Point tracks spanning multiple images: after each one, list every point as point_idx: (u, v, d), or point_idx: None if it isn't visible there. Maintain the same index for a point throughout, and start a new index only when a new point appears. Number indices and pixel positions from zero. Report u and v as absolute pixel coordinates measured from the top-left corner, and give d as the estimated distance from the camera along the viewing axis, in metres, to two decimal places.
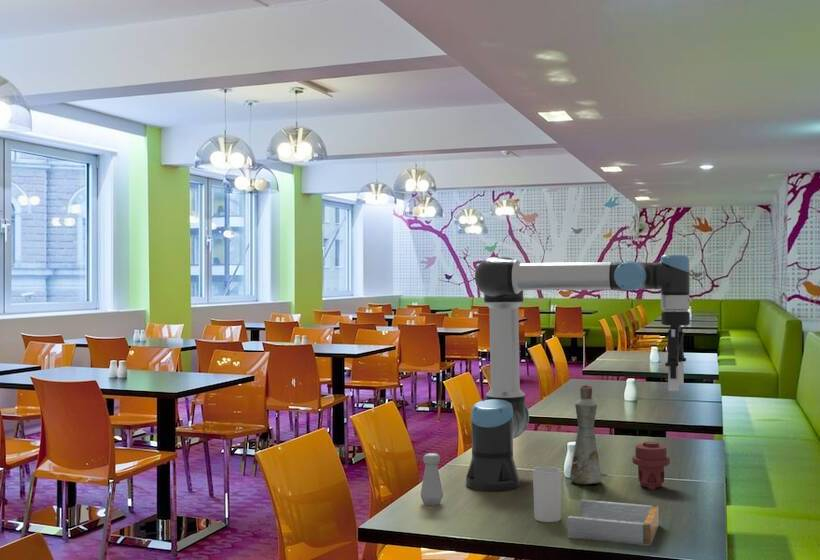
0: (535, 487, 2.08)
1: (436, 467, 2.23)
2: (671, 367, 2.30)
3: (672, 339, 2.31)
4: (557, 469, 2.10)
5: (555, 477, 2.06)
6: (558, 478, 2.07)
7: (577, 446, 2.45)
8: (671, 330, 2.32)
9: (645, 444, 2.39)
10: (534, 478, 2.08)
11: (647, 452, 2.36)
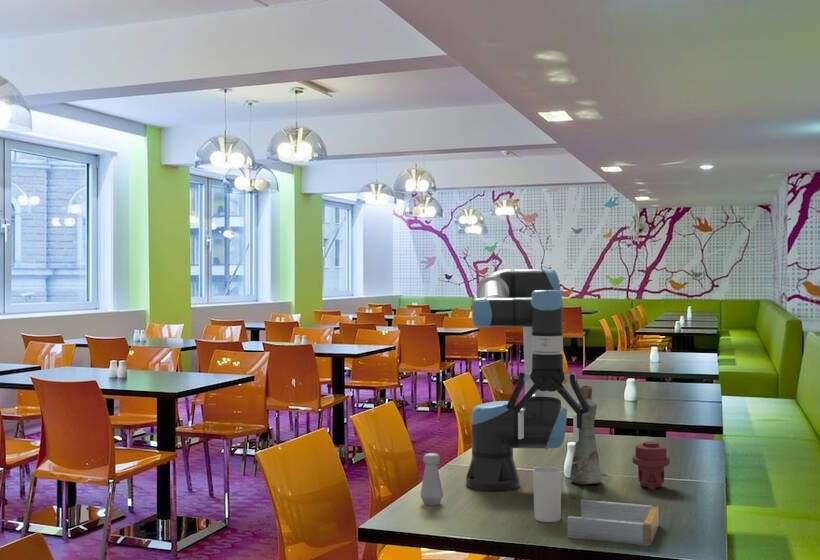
0: (535, 487, 2.08)
1: (436, 467, 2.23)
2: None
3: None
4: (557, 469, 2.10)
5: (555, 477, 2.06)
6: (558, 478, 2.07)
7: (577, 446, 2.45)
8: None
9: (645, 444, 2.39)
10: (534, 478, 2.08)
11: (647, 452, 2.36)
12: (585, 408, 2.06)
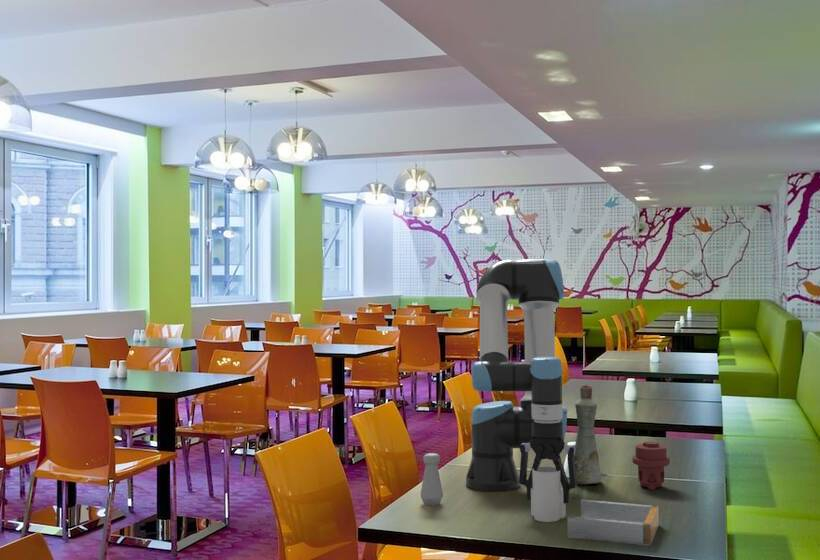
0: (534, 487, 2.08)
1: (436, 467, 2.23)
2: None
3: None
4: None
5: (554, 477, 2.06)
6: (557, 478, 2.07)
7: (577, 446, 2.45)
8: None
9: (645, 444, 2.39)
10: (533, 478, 2.08)
11: (647, 452, 2.36)
12: (572, 484, 2.07)
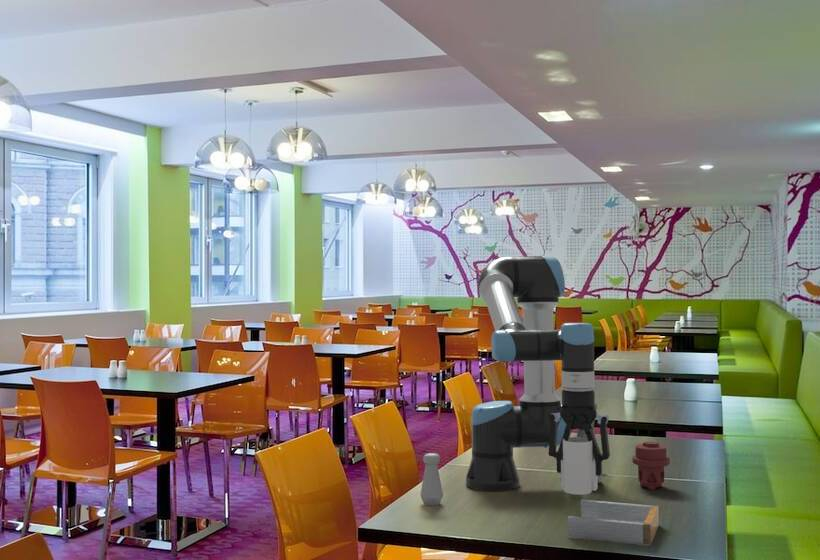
0: (565, 458, 1.98)
1: (436, 467, 2.23)
2: None
3: None
4: None
5: (586, 447, 1.97)
6: (589, 448, 1.97)
7: None
8: None
9: (645, 444, 2.39)
10: (564, 449, 1.99)
11: (647, 452, 2.36)
12: (605, 455, 1.98)
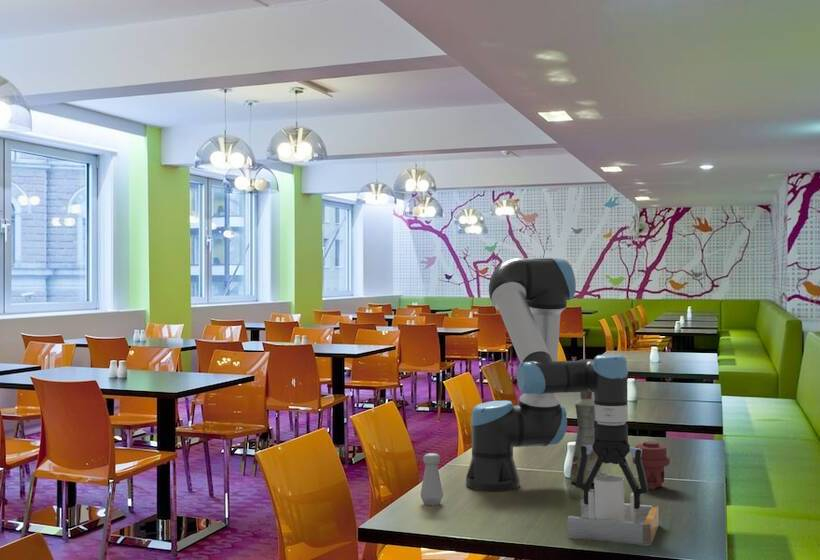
0: (597, 497, 1.96)
1: (436, 467, 2.23)
2: None
3: None
4: (619, 478, 1.98)
5: (619, 486, 1.94)
6: (622, 487, 1.95)
7: (577, 446, 2.45)
8: None
9: (645, 444, 2.39)
10: (596, 488, 1.96)
11: (647, 452, 2.36)
12: (644, 488, 1.95)
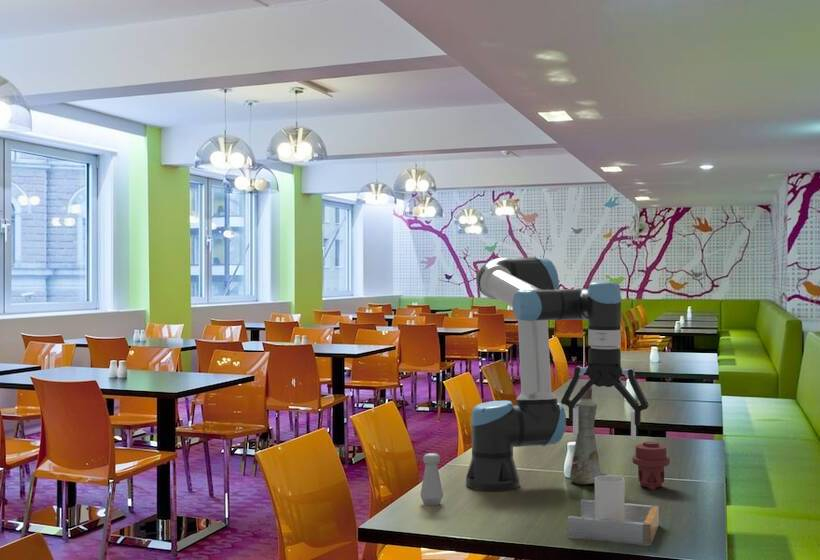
0: (597, 497, 1.96)
1: (436, 467, 2.23)
2: None
3: None
4: (620, 478, 1.98)
5: (619, 487, 1.94)
6: (622, 488, 1.95)
7: (577, 446, 2.45)
8: None
9: (645, 444, 2.39)
10: (596, 488, 1.96)
11: (647, 452, 2.36)
12: (644, 404, 2.00)
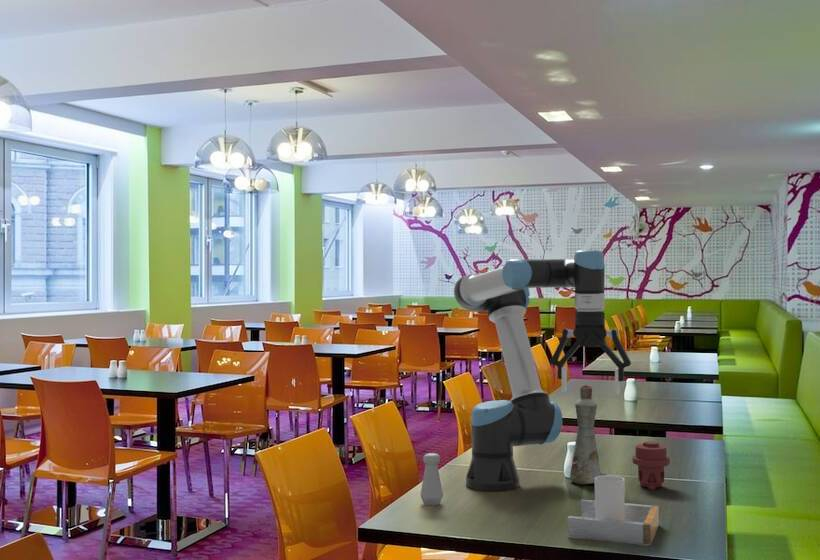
0: (597, 497, 1.96)
1: (436, 467, 2.23)
2: None
3: None
4: (620, 478, 1.98)
5: (619, 487, 1.94)
6: (622, 488, 1.95)
7: (577, 446, 2.45)
8: None
9: (645, 444, 2.39)
10: (596, 488, 1.96)
11: (647, 452, 2.36)
12: (626, 362, 2.17)
